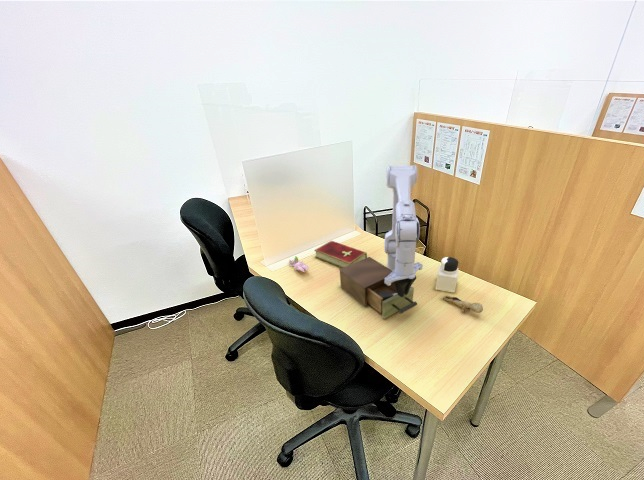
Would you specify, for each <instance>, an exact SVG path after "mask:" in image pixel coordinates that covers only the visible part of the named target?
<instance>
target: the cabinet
mask: <svg viewBox="0 0 644 480" xmlns="http://www.w3.org/2000/svg"><path fill="white" fill-rule="evenodd" d="M391 272H392V270H390V269H389V268H387V266H385V265H384V264H382V263H381V262H379V261H377V260H376V259H374V258H373V257H370V256H367V258H365V259H363V260H360V261H358V262H356V263H353V264H351V265H348V266H346V267H343V268H339V280H340V288H341V289H342V290H343V291H345V292H346V293H347V294H348V295H350V296H351V297H352V298H353V299H354V300H356V301H357V302H358V303H359V304H360V305H362V306H363V307H364V308H367V307H368V306H371V305H370V304H368V303H367V292H366V289H367V288H369V287H371V286H374V285H376V284H378V283H380V282H382V281H384V280H385V278H386V277H387V276H388V275H389V274H390V273H391Z"/></svg>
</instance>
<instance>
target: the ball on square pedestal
mask: <svg viewBox="0 0 644 480" xmlns="http://www.w3.org/2000/svg"><path fill="white" fill-rule="evenodd" d="M440 261H441V262H440V265H439V266H438V270H437V275H436V281H435V290H436V291H441V292H448V293H453V294H454V293H455V292H456V287H457V283H458V276H459V260H458V259H457V258H455V257H453V256H444V257H443V258H441V260H440Z"/></svg>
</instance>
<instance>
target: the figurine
mask: <svg viewBox="0 0 644 480" xmlns="http://www.w3.org/2000/svg"><path fill="white" fill-rule="evenodd" d="M442 300H444V301H446V302H449V303H454V305H457V306H458V307H461V310H462V313H463V314H465V313H466V311H465V309H466V308H467V309H468V310H471V311H472V312H473V313H475V314H481V313H482V312H483V311H484V306H483V304H481V303H480V302H472V303H470V302H469V301H464V300H462V299H460V298H458V297H457V296H450V295H446V296H444V297H443V298H442Z"/></svg>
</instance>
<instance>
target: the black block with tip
mask: <svg viewBox="0 0 644 480" xmlns="http://www.w3.org/2000/svg"><path fill="white" fill-rule="evenodd" d="M396 294H398V293H395V294H392V292H391V291H389V292H383V293H378V295H379V296H381V297H382V298H383V301H384V300H386V299H388V298H390V297H392V296H394V295H396Z"/></svg>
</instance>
